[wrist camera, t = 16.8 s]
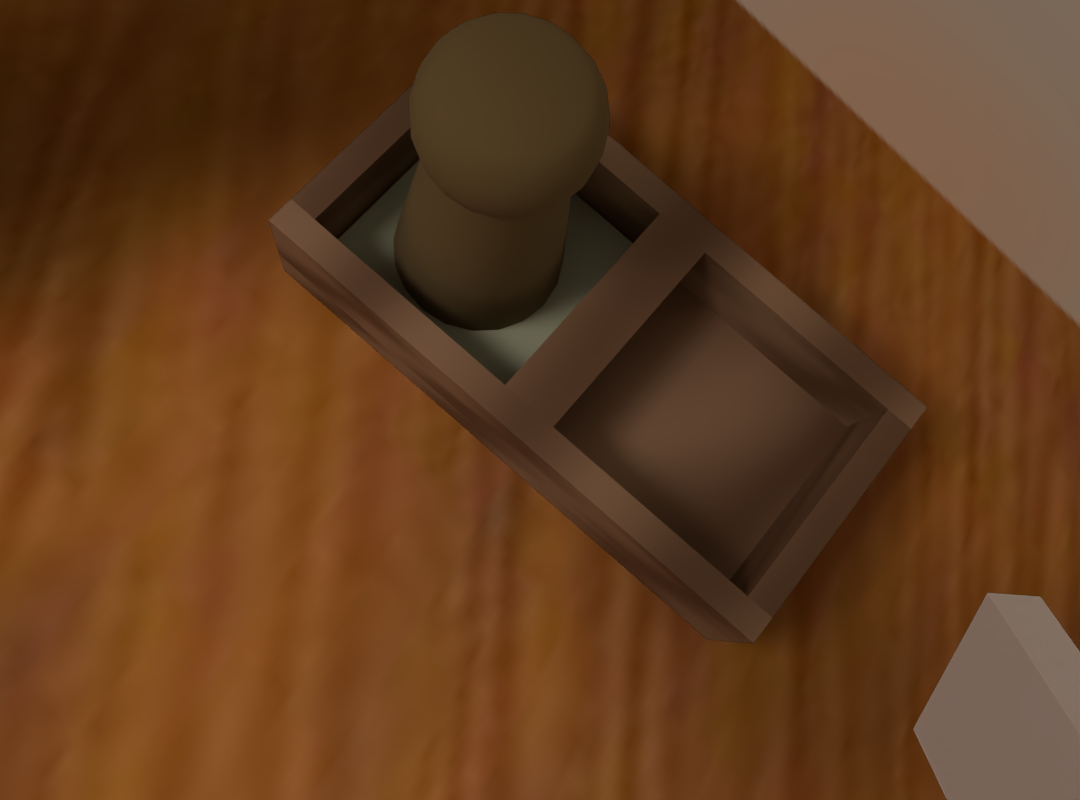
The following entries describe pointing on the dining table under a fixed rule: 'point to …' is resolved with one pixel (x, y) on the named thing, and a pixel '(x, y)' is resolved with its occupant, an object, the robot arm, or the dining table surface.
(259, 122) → the dining table surface
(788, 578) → the stand
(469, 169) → the cork
